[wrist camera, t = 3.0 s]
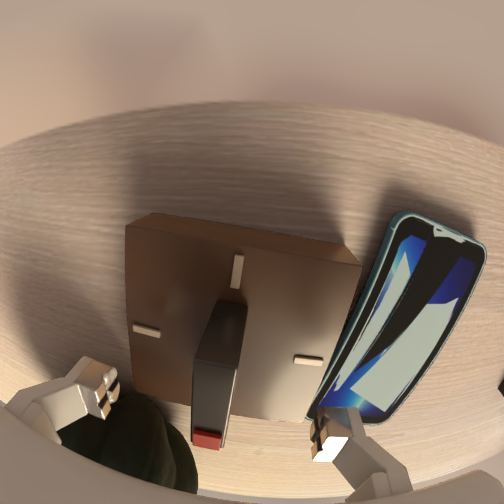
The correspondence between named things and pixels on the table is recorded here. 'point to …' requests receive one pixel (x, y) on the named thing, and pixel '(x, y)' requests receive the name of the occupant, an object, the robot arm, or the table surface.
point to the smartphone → (401, 317)
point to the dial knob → (216, 374)
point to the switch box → (501, 388)
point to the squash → (135, 444)
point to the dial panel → (239, 292)
